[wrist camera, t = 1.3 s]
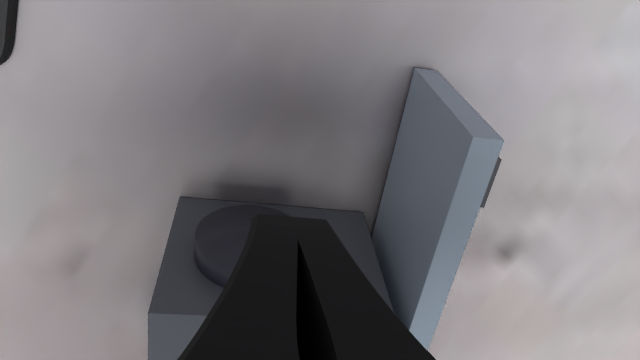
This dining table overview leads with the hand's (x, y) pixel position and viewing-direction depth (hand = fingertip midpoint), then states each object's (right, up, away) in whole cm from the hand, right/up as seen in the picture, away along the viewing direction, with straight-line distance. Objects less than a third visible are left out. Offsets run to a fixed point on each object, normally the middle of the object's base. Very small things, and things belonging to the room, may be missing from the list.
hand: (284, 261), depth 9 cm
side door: (+3, -1, +12) cm, 12 cm away
